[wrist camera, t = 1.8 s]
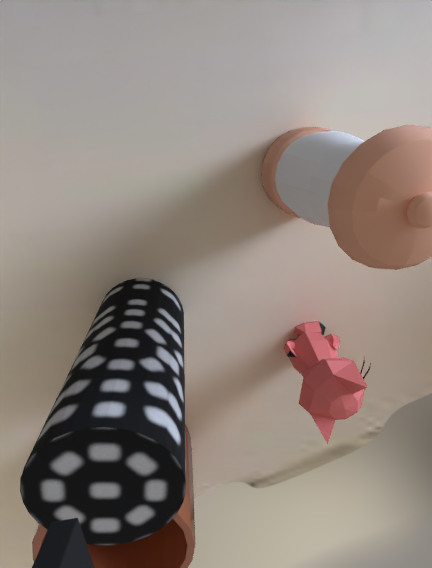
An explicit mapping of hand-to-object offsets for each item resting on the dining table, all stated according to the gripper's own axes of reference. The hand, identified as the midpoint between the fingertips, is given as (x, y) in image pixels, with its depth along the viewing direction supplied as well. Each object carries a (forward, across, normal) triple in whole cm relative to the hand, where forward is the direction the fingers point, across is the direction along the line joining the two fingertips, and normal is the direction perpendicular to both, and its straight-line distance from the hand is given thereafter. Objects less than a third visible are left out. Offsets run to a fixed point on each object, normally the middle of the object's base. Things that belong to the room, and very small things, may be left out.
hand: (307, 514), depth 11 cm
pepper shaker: (+27, +8, +9) cm, 29 cm away
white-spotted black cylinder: (+28, -9, -2) cm, 29 cm away
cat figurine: (+28, +7, -8) cm, 30 cm away
